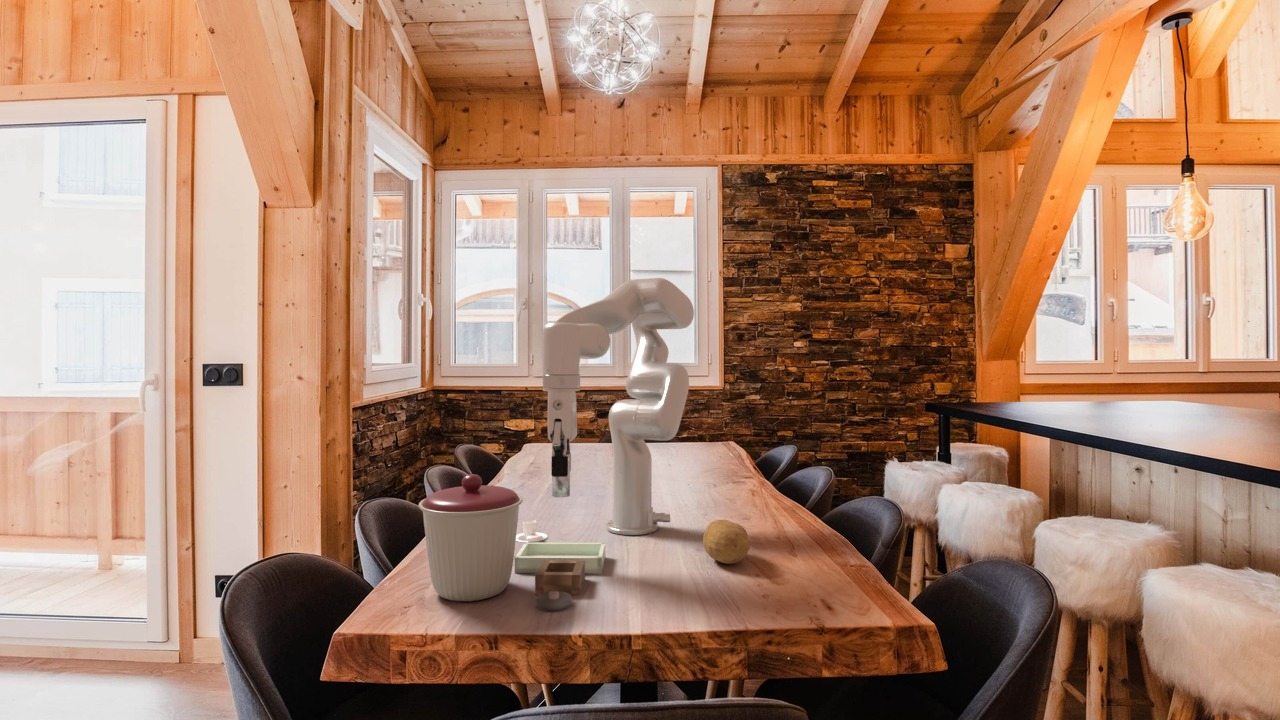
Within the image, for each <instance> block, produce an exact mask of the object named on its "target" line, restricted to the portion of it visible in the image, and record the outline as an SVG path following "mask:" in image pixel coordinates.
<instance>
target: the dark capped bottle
mask: <svg viewBox="0 0 1280 720" xmlns="http://www.w3.org/2000/svg"><path fill="white" fill-rule="evenodd" d="M570 453H571V449H570V450H567V454H566V456H568V475H567V476H566V477H553V476H552V475H551V481H552V482H551V497H554V498H567V497H570V496H571V471H570Z"/></svg>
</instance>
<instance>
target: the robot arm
mask: <svg viewBox="0 0 1280 720" xmlns="http://www.w3.org/2000/svg"><path fill="white" fill-rule="evenodd" d="M694 309H695V308H694V305H693V303H692V301H691V299H690V298H689V296H688V295H686V293H684V292H683V291H682V289H680V288H679V287H678V286H677V285H675V284H674V283H673V282H672V281H670V280H668V279H666V278H664V277H663V278H662V277H655V278H653V277H652V278H638V279H630V280H627V281H625V282H623V283H622V284H621V285H619V286H618V287H616V289H614V290H613V291H612V292H610V293H609V294H607V295H606V296H605V297H603V299H601V300H598V301H595V302H592V303H590V304H587V305H585V306H583V307H579V308H577V309H574V310H572V311H570V312H567V313H565V314H564V315H562V316H561V317H559V318H557V319H556V321H554V322H549V323H546V324H545V325H544V326H543V330H542V391H543V392H547V439H548V440H549V441H550V442H551V445H552V446H551V447H552V448H551V466H550V468H551V471H550V472H551V477H552V476H553V477H566V476H567V475H568V456H566V454H567V450H570V451H571V442H572V441H573V440H574V439H576V438H577V436H578V420H577V419H578V416H577V415H578V412H577V408H578V407H577V395H576V392H579V391H581V360H588V359H589V360H593V359H594V360H596V359H598V358H602V357H603V356H605V355H606V353H607V352H608V351H609V350H610V346H611V337H610V335H612V334H615V333H616V334H618V333H619V332H622V331H624V330H625V329H627V328H628V326H629V325H630V324H631V326H632V329H633V330H632V331H633V333H634V337H635V340H636V341H635V343H636V349H635V352H634V357H633V359H632V362H631V365H630V367H629V368H630V369H629V371H628V375H627V378H626V383H625V390H626V392H627V394H628V396H629V397H631V399H626V398H625V399H622V400H621V399H620V400H617V401H616V402H615V403H613V404H612V406H611V407H610V409H609V413H608V425H609V430H610V431H609V432H610V436H611V437H610V438H611V444H612V446H611V447H612V519H611V520H609V521H607V522H606V526H605V527H606V530H607V531H608V532H610V533H613V534H617V535H623V536H625V535H626V536H640V535H641V536H642V535H647V534H651V533H654V532H656V531H657V530H658V529H659V528H658V527H659V524H658V523H660V522H661V523H671V514H670V513H669V514H668V513H667V514H666V513H665V512H656V511H654V509H653V507H652V504H653V503H652V500H653V499H652V497H653V496H652V494H653V493H652V484H653V483H652V471H653V470H652V467H653V466H652V455H651V451H650V448H649V446H648V445H647V443H646V441H645V440H647V441H670V440H672V439H674V438H675V437H676V435H677V433H678V431H679V428H680V425H681V421H682V417H683V413H684V409H685V405H686V402H687V398H688V395H689V389H690V388H689V387H690V378H689V372H688V370H687V369H686V367H685V366H684V365H682V364H680V363H677V362H668V358H669V353H670V352H669V347H668V345H667V343H666V342H665V339H663V338H662V337H661V335H660V333H659V331H658V330H682V329H686V328H688V327H689V326H690V325H691V324H692V322H693V320H694V315H695V310H694ZM571 454H572V453H571V452H570V472H571V471H572V470H571V467H572V466H571V465H572V464H571V463H572V462H571V461H572V460H571V457H572V455H571Z"/></svg>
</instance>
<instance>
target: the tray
mask: <svg viewBox="0 0 1280 720" xmlns="http://www.w3.org/2000/svg"><path fill="white" fill-rule="evenodd" d="M543 560H585V574H602V573H603V570H604V565H605V560H606V542H523V545H522V547H520V548H519V550H518V552H517V554H516V555H514V574H536V572H537V570H538V568H539V566H540V565H541V563H542V561H543Z"/></svg>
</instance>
